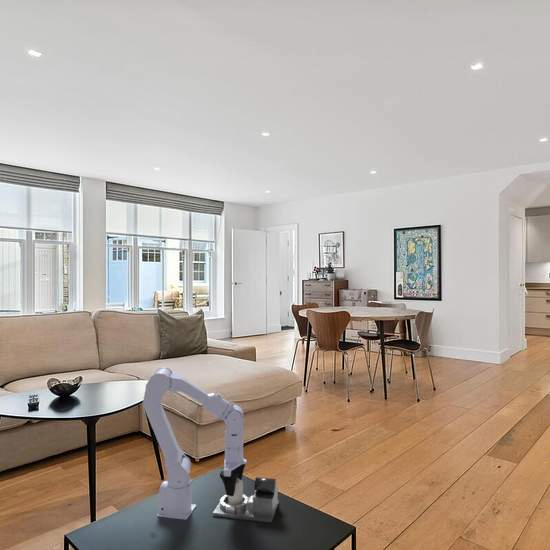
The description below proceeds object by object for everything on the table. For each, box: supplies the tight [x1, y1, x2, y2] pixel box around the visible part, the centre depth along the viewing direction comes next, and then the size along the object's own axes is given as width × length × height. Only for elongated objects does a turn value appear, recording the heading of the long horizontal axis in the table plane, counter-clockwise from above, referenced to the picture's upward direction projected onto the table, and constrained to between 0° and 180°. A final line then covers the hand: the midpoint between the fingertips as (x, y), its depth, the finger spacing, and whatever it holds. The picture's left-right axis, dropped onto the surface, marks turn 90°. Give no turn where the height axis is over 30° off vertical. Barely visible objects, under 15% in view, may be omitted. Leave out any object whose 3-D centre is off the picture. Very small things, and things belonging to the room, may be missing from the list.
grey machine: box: [212, 476, 280, 523], centre depth 132 cm, size 18×11×10 cm, turn 79°
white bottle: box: [228, 478, 244, 506], centre depth 132 cm, size 4×4×8 cm
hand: (233, 489), depth 133 cm, fingers open, 7 cm apart
